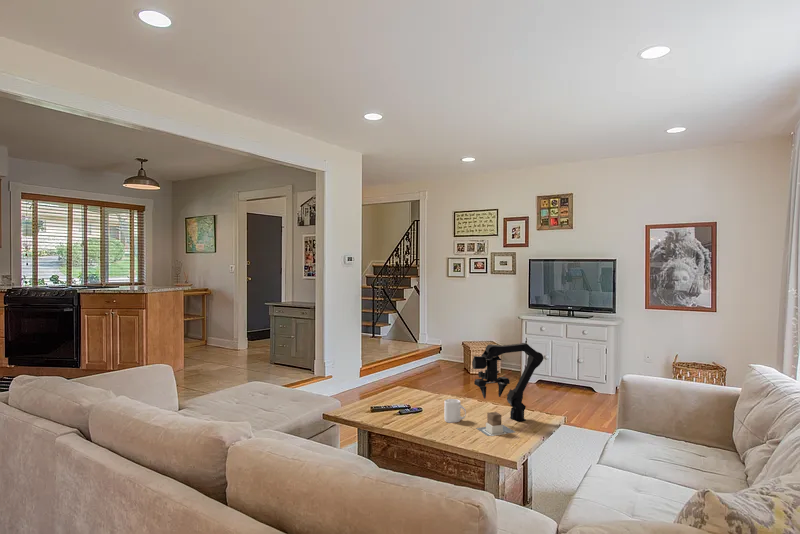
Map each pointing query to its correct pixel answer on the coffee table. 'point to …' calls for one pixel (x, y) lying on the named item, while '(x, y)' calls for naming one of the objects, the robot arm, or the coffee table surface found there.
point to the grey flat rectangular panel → (505, 431)
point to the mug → (453, 410)
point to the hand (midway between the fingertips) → (492, 397)
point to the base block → (494, 429)
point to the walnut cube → (494, 418)
